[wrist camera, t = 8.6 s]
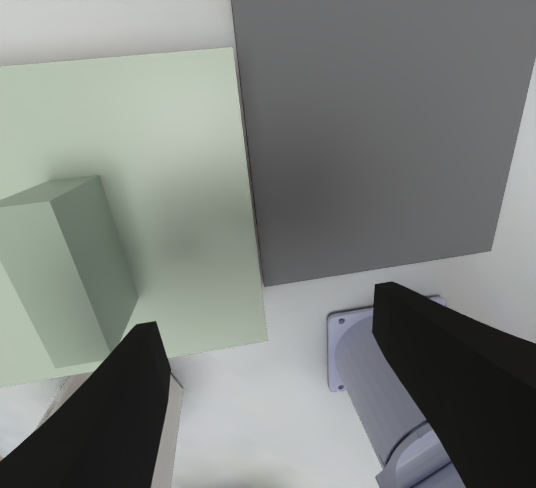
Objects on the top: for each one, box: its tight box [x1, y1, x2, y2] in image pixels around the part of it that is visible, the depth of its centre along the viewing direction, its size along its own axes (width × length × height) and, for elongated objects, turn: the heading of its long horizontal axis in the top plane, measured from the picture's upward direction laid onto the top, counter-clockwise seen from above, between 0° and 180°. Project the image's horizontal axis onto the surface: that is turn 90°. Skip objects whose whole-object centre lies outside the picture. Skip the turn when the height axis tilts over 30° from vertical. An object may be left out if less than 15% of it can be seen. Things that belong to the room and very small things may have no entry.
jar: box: [35, 371, 183, 488], centre depth 18 cm, size 9×8×12 cm
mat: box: [231, 0, 536, 287], centre depth 19 cm, size 17×17×1 cm
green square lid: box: [0, 47, 268, 388], centre depth 12 cm, size 14×14×5 cm
